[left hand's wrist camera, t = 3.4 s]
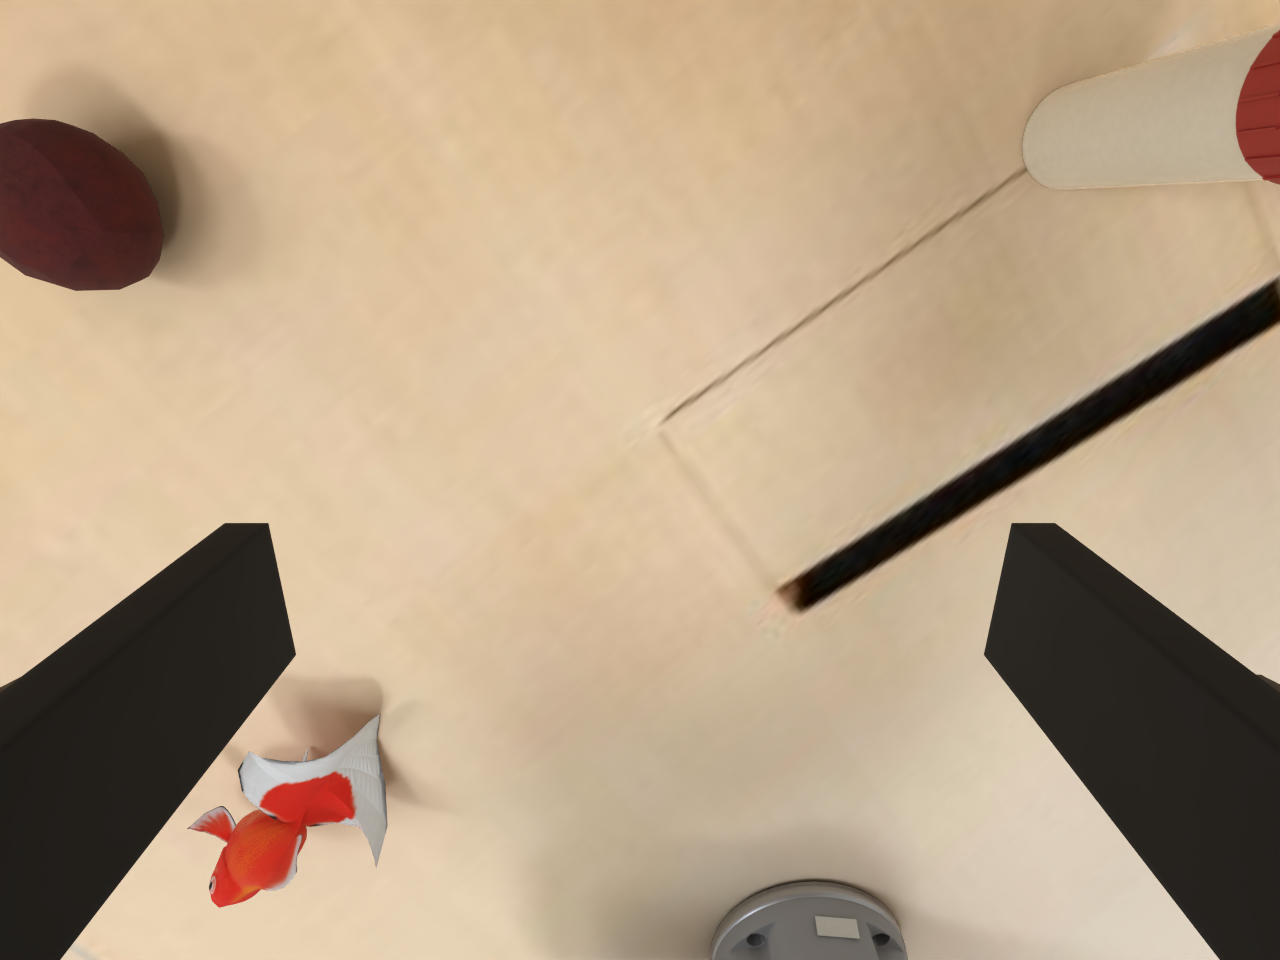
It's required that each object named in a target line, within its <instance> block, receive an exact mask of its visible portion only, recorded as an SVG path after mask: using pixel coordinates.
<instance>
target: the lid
mask: <svg viewBox="0 0 1280 960" xmlns="http://www.w3.org/2000/svg"><path fill="white" fill-rule="evenodd" d="M1236 135H1237V140H1238V144H1239V147H1240V150H1241V152H1242V155H1243V157H1244V158H1245V159H1244V160H1245V162H1247V163H1248V165H1249V166H1250V167H1251V168H1252V169H1253V170H1254V171H1255V172H1256V173H1257V174H1259V175H1260V176H1261V177H1263V178H1262V179H1263V180H1269V181H1271V182H1273V183H1276V184H1280V30H1279V31H1278V32H1277V33H1274V34H1273V35H1272V38H1271V39H1270V40H1269V41H1268V43H1267V44H1266V45H1265V46H1264V48H1263V49H1262V50H1261V52H1260V53H1259V55H1258V56H1257V58H1256V59H1255V61H1254V62H1253V64H1252V65H1251V67H1250V70H1249V72H1248V74H1247V76H1246V78H1245V81H1244V83H1243V86H1242V88H1241V92H1240V95H1239V99H1238V104H1237V110H1236Z"/></svg>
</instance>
